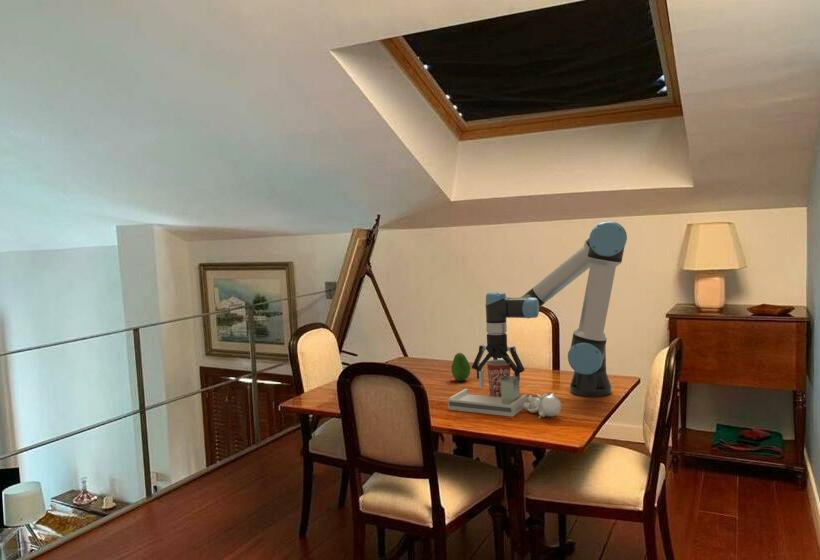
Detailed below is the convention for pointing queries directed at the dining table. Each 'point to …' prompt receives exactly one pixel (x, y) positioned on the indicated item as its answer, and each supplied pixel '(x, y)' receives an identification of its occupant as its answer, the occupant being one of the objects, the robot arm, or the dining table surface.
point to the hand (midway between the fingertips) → (498, 388)
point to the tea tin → (510, 389)
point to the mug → (497, 375)
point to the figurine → (543, 404)
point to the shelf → (484, 404)
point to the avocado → (460, 367)
